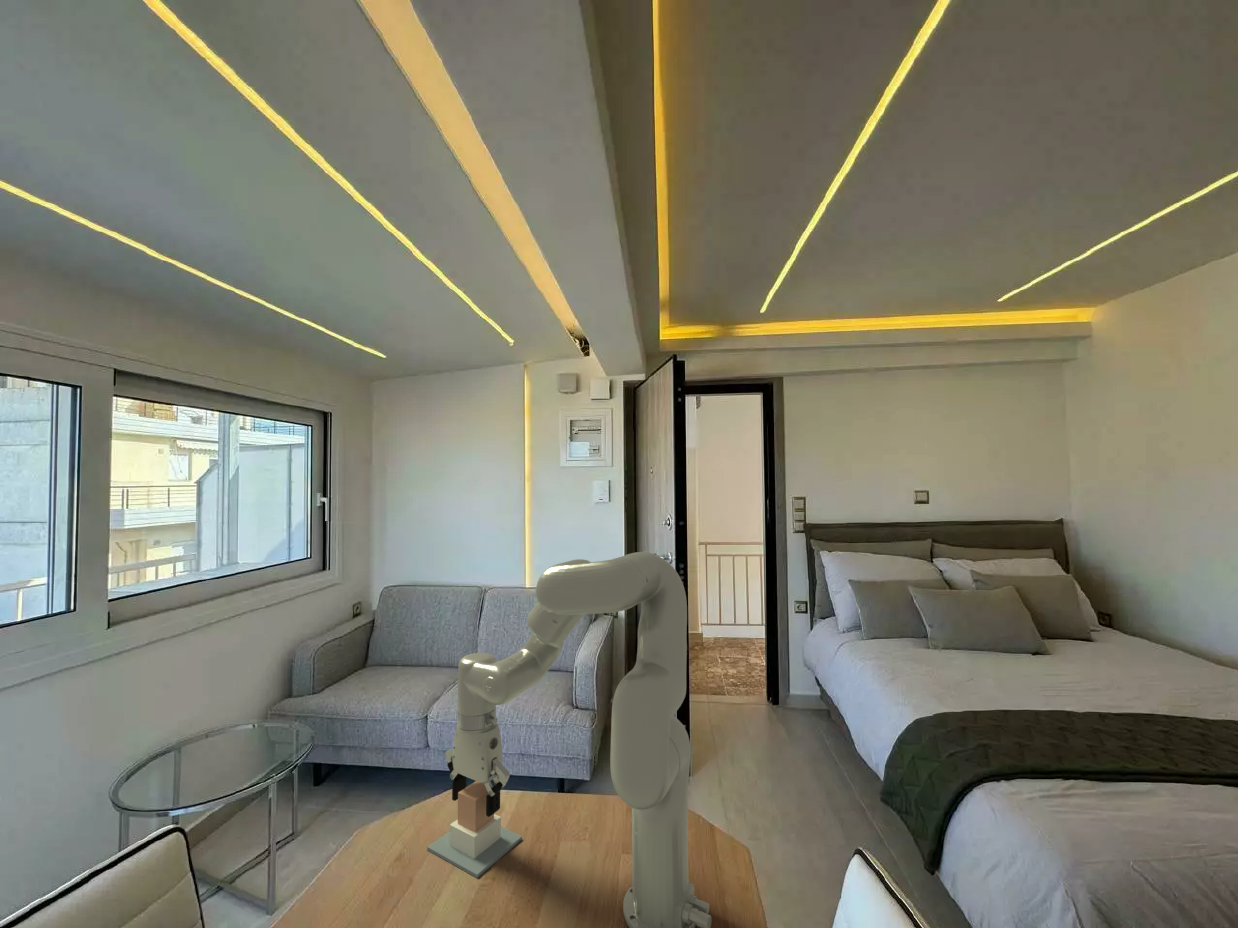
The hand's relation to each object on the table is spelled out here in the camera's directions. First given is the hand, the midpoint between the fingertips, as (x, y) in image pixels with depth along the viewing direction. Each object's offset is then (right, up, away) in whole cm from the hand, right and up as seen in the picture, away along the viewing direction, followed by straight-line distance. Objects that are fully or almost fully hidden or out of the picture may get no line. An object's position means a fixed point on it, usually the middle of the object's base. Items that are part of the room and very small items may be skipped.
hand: (475, 804), depth 101 cm
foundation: (0, -8, 0) cm, 8 cm away
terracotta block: (0, -3, 0) cm, 3 cm away
